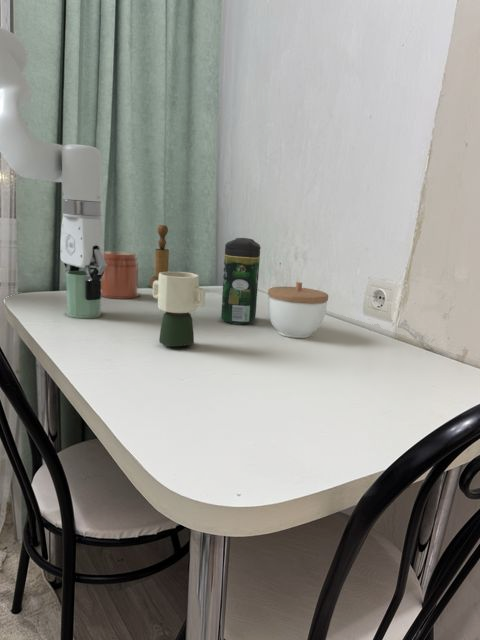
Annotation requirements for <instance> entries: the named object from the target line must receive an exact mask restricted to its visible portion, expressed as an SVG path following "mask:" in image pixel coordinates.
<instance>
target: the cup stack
mask: <svg viewBox="0 0 480 640" xmlns="http://www.w3.org/2000/svg"><path fill="white" fill-rule="evenodd" d="M104 260H105V262H106V264H107V266H106V268H105V270H104V274H103V276H102V281H101V297H102V298H106V299H115V300H131V299H136V298H138V297H139V292H138V287H139V286H138V281H139V280H138V279H139V278H138V277H139V263H138V257H137V256H136V253H134V252H130V251H123V250H121V251H120V250H119V251H118V250H108V251H107V250H106V251H105V250H104Z"/></svg>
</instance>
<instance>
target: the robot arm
mask: <svg viewBox="0 0 480 640" xmlns="http://www.w3.org/2000/svg"><path fill="white" fill-rule="evenodd" d="M28 61H29V59H28V53H27V49H26V46H25V45H24V43H23V42H22V40H21V39H20V38H19V37H18V36H17V34H15V33H13V32H11V31H9V30H8V29H5V28H4V27H1V26H0V154H1V155H2V157H3V159H4V160H5V162H6V163H7V165H8V166H9V167H10V168H11V170H12V171H13V172H14V173H15V174H17V175H18V176H20V177H21V178H24V179H26V180H27V179H28V180H33V181H34V180H35V181H46V182H52V183H61V187H62V189H61V190H62V220H61V228H60V246H59V247H60V255H59V257H60V260H61V262H62V263H63V265H64V267H65V273H66V272H68V271H82V269H83V268H84V271H85V272H86V276H87V280H88V281H85V289H86V300H98V299H101V300H102V296H101V281H102V276H103V274H104V270H105V268H106V266H107V264H106V262H105V260H104V252H105V245H104V231H103V224H102V219H103V185H102V184H103V169H102V168H103V167H102V166H103V163H102V162H103V159H102V158H103V157H102V152H101V151H100V149H99V148H97V147H95V146H91V145H86V144H78V143H69V144H68V143H67V144H65V145H64V144H60V143H55V142H50V141H47V140H42V139H38V138H34V137H33V136H32V134H31V132H30V130H29V129H28V127H27V125H26V124H25V121H24V120H23V118H22V116H21V113H20V111H19V110H20V109H22V108H23V107H25V106H26V105H27V104H28V102H30V100H31V98H32V94H33V93H32V92H33V91H32V88H31V86H30V84H29V82H28V80H27V79H26V77H25V76H24V72H25V71H26V69H27V66H28ZM91 270H92V271H93V272H92V274H91Z"/></svg>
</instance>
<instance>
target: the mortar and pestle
mask: <svg viewBox="0 0 480 640" xmlns="http://www.w3.org/2000/svg"><path fill="white" fill-rule="evenodd" d="M156 231H157V234H158V237H159V240H158V241H157V242H158V248H155V249H154V276H152V277H151V278H150V279H149V287H150V288H151V289H153V282H154V281H156V280H157V281H158V280H159V273H161V272H169V260H170V259H169V258H170V257H169V256H170V255H169V254H170V249H168V248H166V244H167V240H166V236H167V234H168V232H169V228H168V226H167V225H166V224H159V225H158V226H157V230H156Z"/></svg>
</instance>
